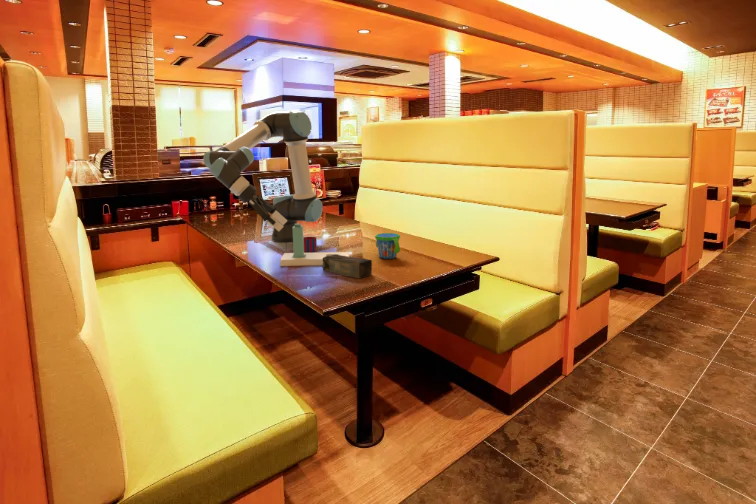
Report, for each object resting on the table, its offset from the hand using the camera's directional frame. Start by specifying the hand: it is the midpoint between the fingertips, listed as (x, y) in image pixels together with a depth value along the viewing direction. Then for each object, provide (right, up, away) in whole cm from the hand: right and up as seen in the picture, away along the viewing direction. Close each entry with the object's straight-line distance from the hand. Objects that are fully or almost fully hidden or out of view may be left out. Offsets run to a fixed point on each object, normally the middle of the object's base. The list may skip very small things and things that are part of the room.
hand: (283, 226), depth 199 cm
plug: (+6, -15, +4) cm, 17 cm away
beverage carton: (+27, -19, -11) cm, 35 cm away
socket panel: (+13, -15, +4) cm, 21 cm away
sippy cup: (+44, -13, +13) cm, 47 cm away
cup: (+6, -11, +24) cm, 27 cm away
